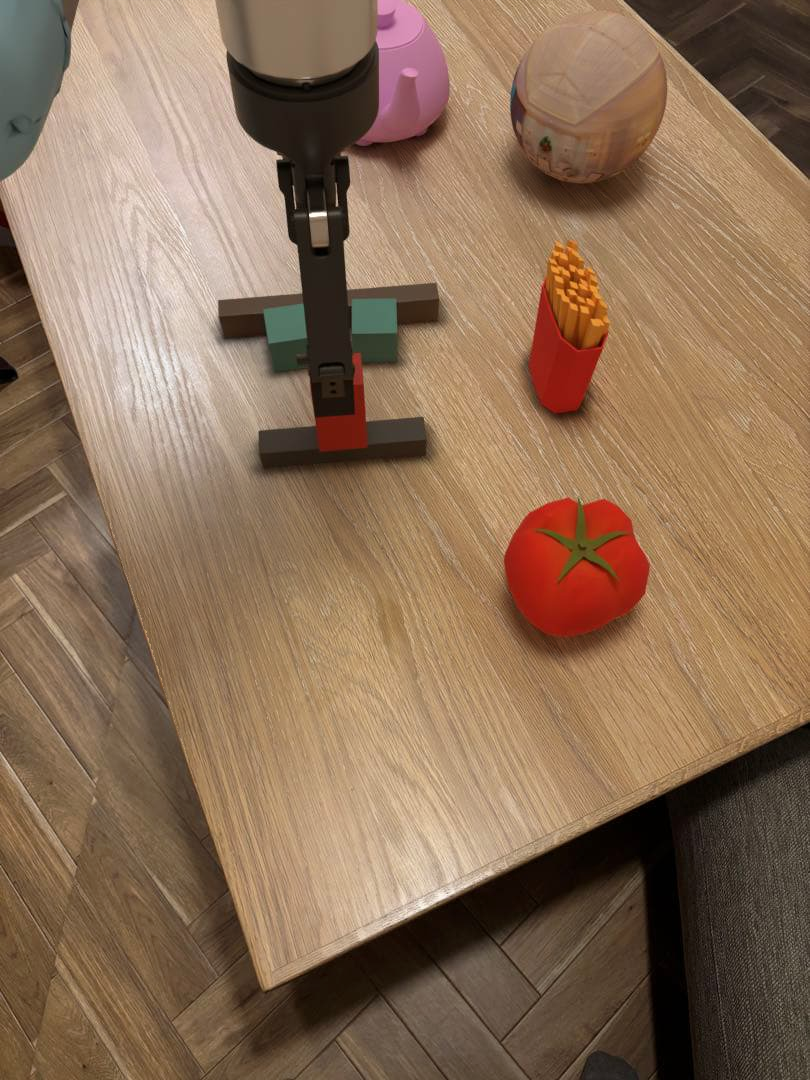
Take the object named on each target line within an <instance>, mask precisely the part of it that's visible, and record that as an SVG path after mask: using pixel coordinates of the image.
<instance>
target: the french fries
mask: <svg viewBox="0 0 810 1080" xmlns="http://www.w3.org/2000/svg"><path fill="white" fill-rule="evenodd" d="M578 249H579V244H578V243H577V242H575V241H573V240H571V239H569V238H567V240H566V246H565V248H564V245H563V244H562V243H560V242H558V241H556V240H555V241H554V248H553V249H551V258H549V257H547V263H546V264H547V265H546V276H545V279H544V280H543V282H542V286H541V290H540V294H539V295H540V296H539V301H538V307H537V312H536V313H537V314H536V318H535V319H536V320H535V326H534V332H533V337H532V343H531V349H530V356H529V360H528V361H529V362H528V369H529V372H530V376H531V379H532V383H533V386H534V389H535V392H536V395H537V398H538V400H539V403H540V405H541V406H543V407H545V408H546V409H547V410H549V411H551V412H552V413H554V414H561V413H567V412H568V413H569V412H574V411H578V409H579V407H580V405H581V404H582V402H583V400H584V398H585V396H586V393H587V390H588V388H589V385H590V383H591V380H592V377H593V375H594V372H595V370H596V367H597V364H598V363H599V360H600V358H601V354H602V351H603V350H604V346H605V345H606V341H607V339H608V336H609V334H610V331H609V328H610V326H611V322H610V320H609V318H608V316H607V315H608V306H607V303H606V302H605V301H603V299H604V298H603V297H602V296H601V295H600V287H599V282H598V278H597V277H596V273H595V271H594V270H593V268H592V267H589V266H587V265H586V266H585V260H584V259H583V258H582V256H580V255H579V253H578ZM584 267H585V268H584Z"/></svg>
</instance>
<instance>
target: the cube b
mask: <svg viewBox="0 0 810 1080" xmlns="http://www.w3.org/2000/svg"><path fill="white" fill-rule="evenodd" d="M351 346H352V351H353V353H361V361H362V364H363V363H398V324H397V302H396V298H390V299H352V328H351Z"/></svg>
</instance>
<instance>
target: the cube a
mask: <svg viewBox="0 0 810 1080" xmlns="http://www.w3.org/2000/svg"><path fill="white" fill-rule="evenodd" d="M263 313H264V320H265V326H266V332H267V335H266V337H267V344H268V350H269V355H270V359H271V364H272V368H273V372H274V373H279V372H280V373H281V372H286V371H293V370H299V369H306V368H307V369H308V368H309V366H308V365H301V366H298V365H297V354H300V353H307V352H306V351H307V347H306V345H308V343H307V334H306V324H305V314H304V305H303V304H297V305H290V306H283V307H276V308H269V309H263Z"/></svg>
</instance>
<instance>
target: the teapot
mask: <svg viewBox="0 0 810 1080" xmlns="http://www.w3.org/2000/svg"><path fill="white" fill-rule="evenodd" d="M377 2H378V33H377V37H376V42H377V45H378V49H379V110H378V115H377V118H376V120H375V122H374V124H373V126H372V127H371V129H370V130H369V131H368V132H367V134H366V135H365V136H363V137H362V138H361V139H360V140H359V141H357V142H356V143H355V144H356V145H358V146H363V147H364V146H365V147H366V146H370V145H372V144H373V143H392V142H398V141H403V140H407V139H409V138H412V137H420V136H423V135H424V134H426V133H427V131H428V127H429V126H431V125H432V124H433V123H435V121H436V120H437V119H438V118H439V117H440V116H441V114H443V112H444V110H445V108H446V106H447V103H448V101H449V98H450V91H451V90H450V89H451V87H450V85H451V84H450V74H449V68H448V63H447V60H446V56H445V53H444V51H443V48H442V45H441V44H440V41H439V40H438V38H437V36H436V35H435V33H434V31H433V29H432V27H431V26H430V24H429V23H428V21H427V20H426V18H425V17H424V16H423V15H422V14H421V12H420V11H419V10H418V8H416V7H415V6H413V5H411V4H410V3H408V2H406V1H404V0H377Z"/></svg>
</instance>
